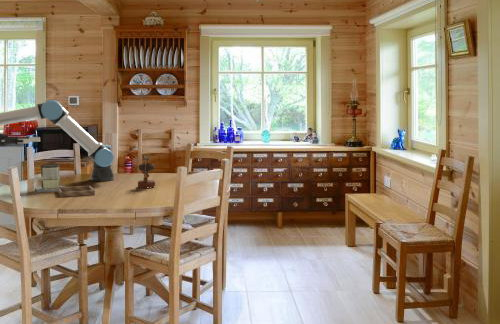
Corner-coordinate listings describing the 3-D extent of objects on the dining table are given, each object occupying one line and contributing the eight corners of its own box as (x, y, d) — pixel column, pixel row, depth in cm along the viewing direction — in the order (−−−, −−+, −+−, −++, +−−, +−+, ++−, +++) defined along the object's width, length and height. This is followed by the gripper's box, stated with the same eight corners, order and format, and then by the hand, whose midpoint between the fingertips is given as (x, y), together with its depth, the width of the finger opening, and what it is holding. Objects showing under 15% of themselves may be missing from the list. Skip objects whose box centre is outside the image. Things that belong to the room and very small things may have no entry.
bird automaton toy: (157, 188, 308) (154, 155, 305) (138, 190, 305) (135, 157, 302) (154, 184, 322) (151, 153, 320) (136, 186, 319) (133, 154, 317)
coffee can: (37, 188, 299) (36, 164, 297) (53, 186, 307) (52, 163, 305) (48, 190, 293) (47, 166, 291) (63, 188, 301) (63, 164, 299)
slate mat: (64, 186, 310) (64, 185, 310) (66, 190, 296) (66, 189, 296) (35, 188, 304) (35, 187, 304) (36, 192, 289) (36, 191, 289)
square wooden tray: (90, 189, 301) (90, 185, 300) (94, 194, 284) (94, 190, 284) (57, 191, 293) (57, 187, 293) (60, 197, 277) (60, 192, 277)
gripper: (10, 144, 314) (44, 144, 313) (-13, 148, 289) (24, 148, 288) (9, 132, 313) (43, 132, 312) (-13, 134, 288) (24, 135, 287)
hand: (34, 140), depth 300 cm, fingers open, 13 cm apart
